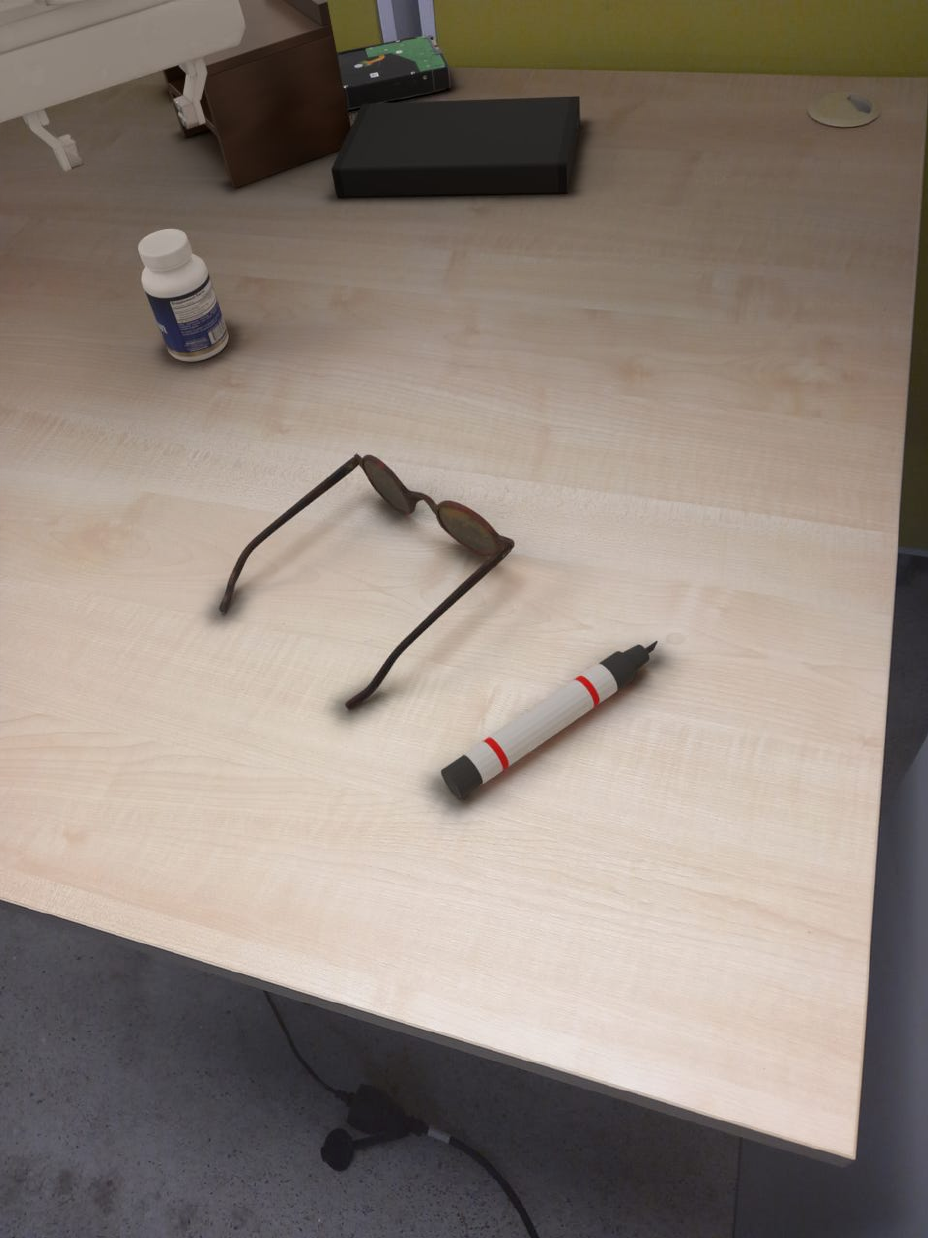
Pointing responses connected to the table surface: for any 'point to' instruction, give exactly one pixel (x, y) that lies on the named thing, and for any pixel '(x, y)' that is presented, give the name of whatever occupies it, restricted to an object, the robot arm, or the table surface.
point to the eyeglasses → (449, 514)
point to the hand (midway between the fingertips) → (134, 144)
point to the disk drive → (393, 71)
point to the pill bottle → (181, 296)
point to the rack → (273, 90)
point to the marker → (543, 720)
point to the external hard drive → (459, 148)
